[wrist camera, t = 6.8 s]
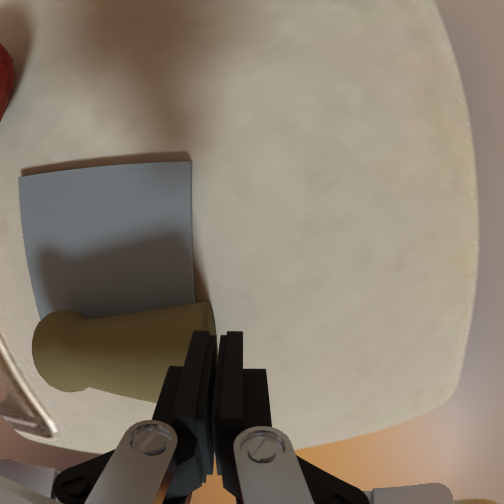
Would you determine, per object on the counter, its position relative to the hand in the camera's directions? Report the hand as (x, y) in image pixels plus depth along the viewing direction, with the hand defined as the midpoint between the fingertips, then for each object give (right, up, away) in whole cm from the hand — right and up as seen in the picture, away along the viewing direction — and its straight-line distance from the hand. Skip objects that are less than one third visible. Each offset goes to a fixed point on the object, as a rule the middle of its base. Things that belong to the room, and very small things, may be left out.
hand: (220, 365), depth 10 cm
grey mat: (-8, +2, +7) cm, 11 cm away
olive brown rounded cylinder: (-1, -2, +5) cm, 6 cm away
